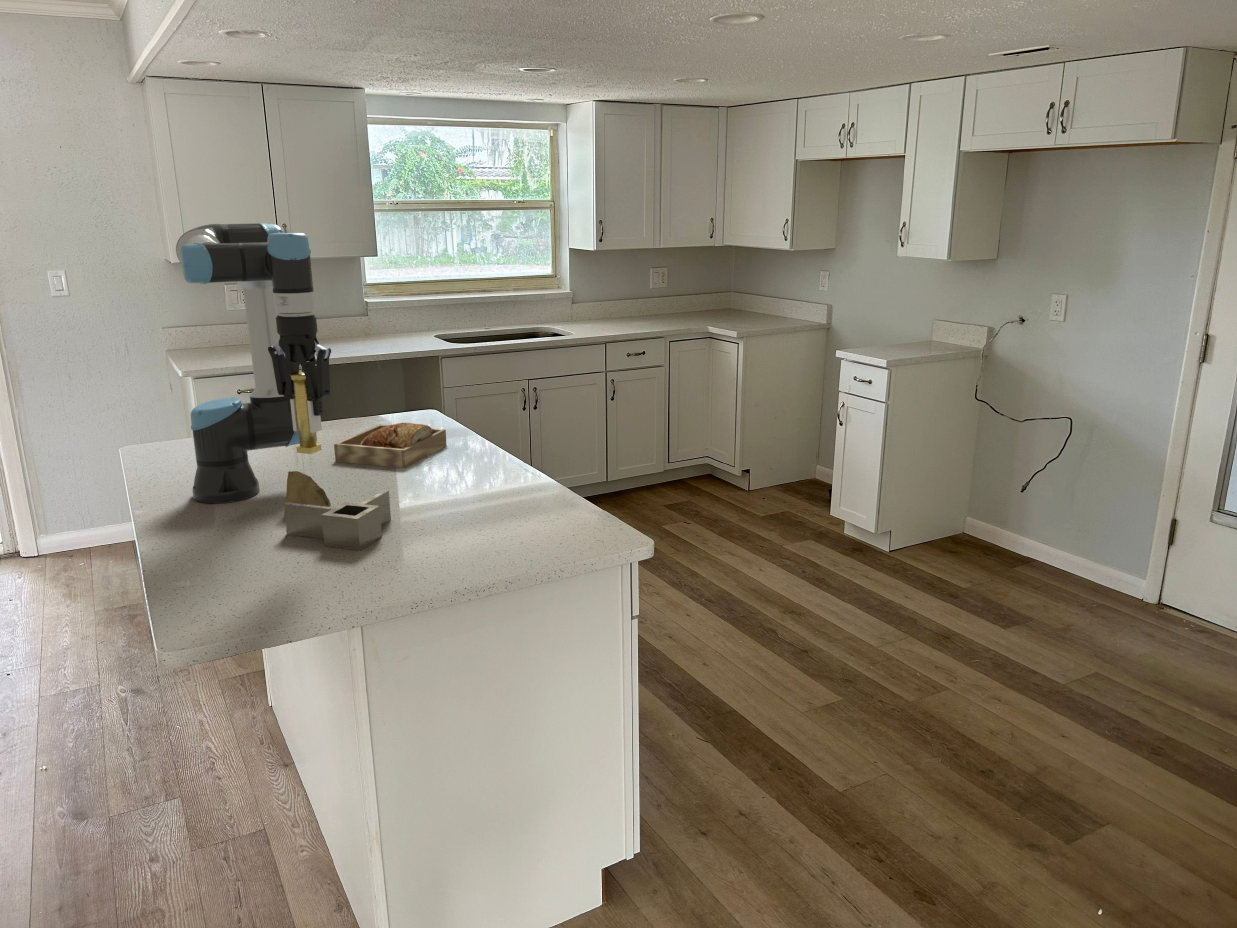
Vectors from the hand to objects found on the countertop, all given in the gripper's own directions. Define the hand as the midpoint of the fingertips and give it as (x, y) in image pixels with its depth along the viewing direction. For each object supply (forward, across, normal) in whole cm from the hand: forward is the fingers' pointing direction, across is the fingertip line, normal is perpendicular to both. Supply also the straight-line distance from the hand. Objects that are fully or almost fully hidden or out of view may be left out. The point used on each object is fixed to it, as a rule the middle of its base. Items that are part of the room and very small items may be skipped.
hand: (307, 430), depth 180 cm
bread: (+25, -23, +67) cm, 75 cm away
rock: (+25, -16, +18) cm, 35 cm away
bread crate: (+24, -24, +67) cm, 76 cm away
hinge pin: (+4, 0, 0) cm, 4 cm away
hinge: (+25, -1, +9) cm, 27 cm away
